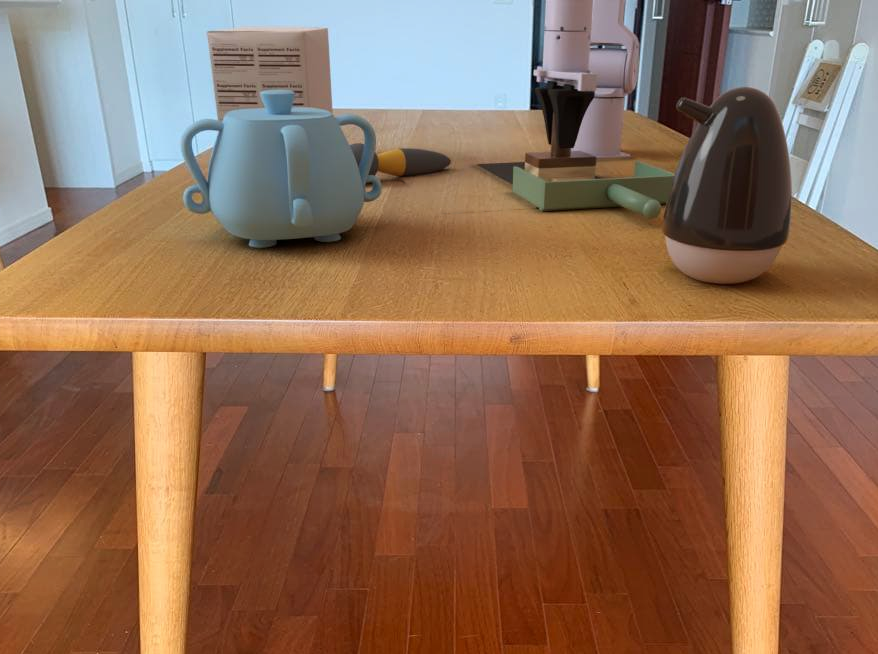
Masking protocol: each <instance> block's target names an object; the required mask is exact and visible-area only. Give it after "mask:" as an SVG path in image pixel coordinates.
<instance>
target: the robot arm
mask: <svg viewBox="0 0 878 654" xmlns="http://www.w3.org/2000/svg"><path fill="white" fill-rule="evenodd" d="M625 6H626V0H545V11H544V12H545V13H544V32H543V33H544V34H543V53H542V54H543V55H542V66H541V65H540V66H539V65H537V68H536V69H533V76H534V77H536V82H537V83H546V85H545V86H544V87H543V86H542V87H534V93H535V95H536V97H537V101H538V103H539V105H540V107H541V111H542V112H541V113H542V116H543V120H544V121H543V122H544V127H545V133H546V140H547V143H548V145H550V146H551V139H552V121H553V112H554V116H555V131H556V143H557V148H560V149H562V148H571V151H582V152H585V153H588V154H590V155H593V156H596V160H609V159H611V160H613V159H630V158H631V154H629V153H626V152H623V151H621V149H622V148H621V147H622V138H623V137H622V136H623V125H624V114H625V105H626V104H625V103H626V96H628V95H630V94H632V92H633V91H634V90H635V89H636V87H637V83H638V78H639V71H640V55H639V54H640V41H639V38H638V37H637V35H636V34H635V33H634V32H632V30H631V29H630V28H628V26H626V25H625V24H624V15H625ZM595 46H597V47H595ZM598 46H603V47H598ZM608 47H609V48H608ZM610 47H613V48H610ZM614 47H615V48H614ZM616 47H625V48H616Z"/></svg>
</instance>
